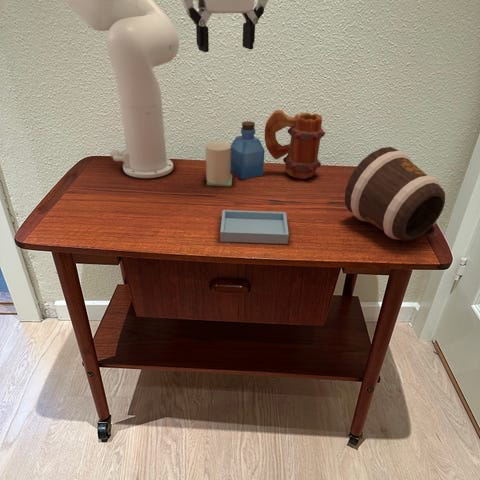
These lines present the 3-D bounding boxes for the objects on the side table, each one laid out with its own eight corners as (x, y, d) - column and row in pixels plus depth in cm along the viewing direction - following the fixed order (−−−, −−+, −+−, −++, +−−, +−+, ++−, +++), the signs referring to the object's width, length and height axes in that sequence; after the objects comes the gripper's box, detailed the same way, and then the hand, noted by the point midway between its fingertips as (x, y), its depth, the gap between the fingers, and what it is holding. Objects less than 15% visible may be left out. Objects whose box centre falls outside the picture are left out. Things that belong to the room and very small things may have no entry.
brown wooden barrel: (328, 201, 86) (378, 242, 77) (376, 132, 80) (436, 167, 71) (377, 225, 100) (423, 261, 91) (420, 167, 93) (475, 200, 85)
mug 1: (318, 170, 111) (328, 108, 101) (319, 183, 105) (330, 118, 95) (262, 166, 112) (266, 104, 102) (260, 179, 106) (265, 114, 96)
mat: (206, 185, 102) (206, 183, 102) (208, 175, 106) (208, 173, 106) (231, 186, 102) (231, 184, 102) (232, 176, 106) (232, 174, 106)
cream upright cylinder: (205, 183, 102) (204, 149, 96) (206, 173, 106) (206, 140, 101) (230, 184, 102) (231, 150, 97) (230, 174, 106) (231, 141, 101)
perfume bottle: (241, 179, 105) (243, 128, 97) (230, 170, 109) (230, 121, 101) (262, 175, 108) (266, 125, 100) (251, 166, 112) (253, 118, 104)
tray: (220, 241, 83) (220, 231, 81) (222, 218, 90) (222, 209, 88) (287, 244, 83) (288, 234, 81) (284, 221, 90) (285, 212, 88)
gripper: (259, -68, 77) (254, 44, 88) (170, -73, 70) (177, 48, 81) (282, -68, 72) (274, 50, 83) (188, -74, 65) (193, 56, 76)
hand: (226, 49), depth 82 cm, fingers open, 9 cm apart
